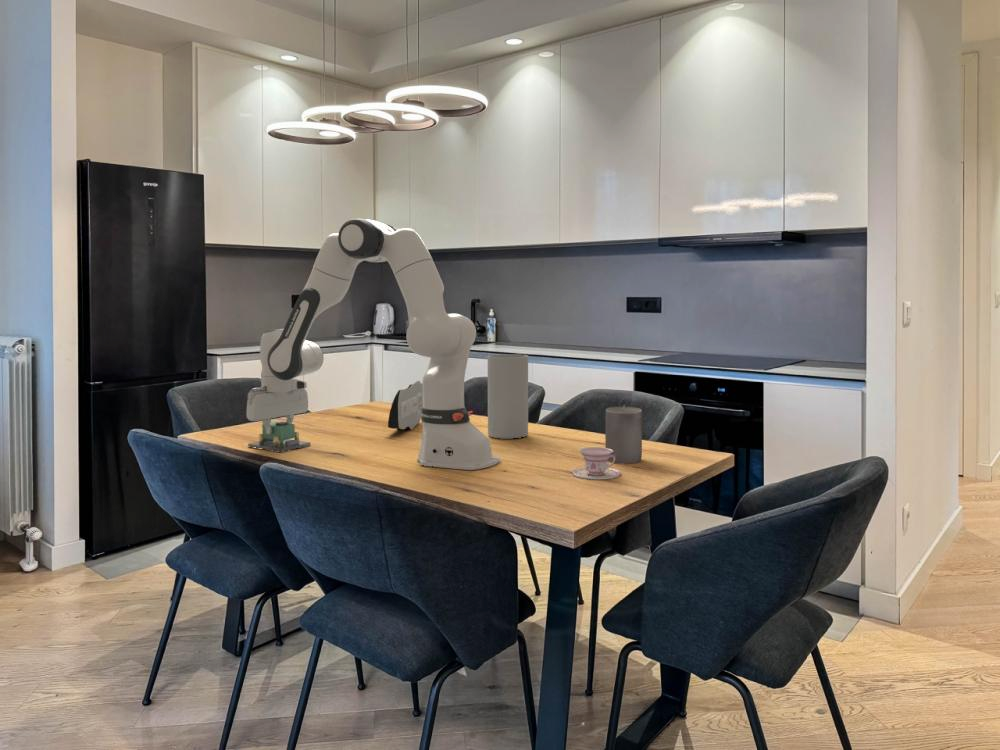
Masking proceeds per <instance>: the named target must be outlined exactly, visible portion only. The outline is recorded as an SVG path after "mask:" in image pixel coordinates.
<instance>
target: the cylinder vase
mask: <svg viewBox="0 0 1000 750" xmlns="http://www.w3.org/2000/svg"><path fill="white" fill-rule="evenodd" d="M487 434H488V436H489V437H490V438H492V437H493V439H497V438H500V439H499V440H514V439H513V438H519V439H522V438H521V437H524V438H526V437H527V436H528V434H529V355H527V354H515V353H514V354H513V353H510V354H509V353H504V354H503V353H501V354H500V353H499V354H489V355H487ZM525 436H526V437H525Z"/></svg>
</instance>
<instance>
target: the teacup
mask: <svg viewBox="0 0 1000 750" xmlns="http://www.w3.org/2000/svg"><path fill="white" fill-rule="evenodd" d="M578 452H580V454H581V455H582V456H583V458H582V459H584V463H585V464H584V467H579V468H578V467H577V468H575V469H573V470H572V472H571V474H572V476H574V477H577V478H581V479H586V480H599V481H600V480H611V479H616V478H619V477H621V475H622V472H621V471H620V470H618V469H615V468H613V467H612V466H614V464H615V463H614V462H615V459H616V455H615V454H614V455H611V454H612V452H613V450H612V449H608V448H605V447H600V446H599V447H597V446H587V447H581V448H579V449H578ZM609 457H613V458H614V460H613V462H611V464H609V465H608V459H609ZM611 467H612V468H611ZM582 470H586V471H584V472H586V473H585V474H584V472H583V471H582ZM606 470H608V471H607V472H606ZM579 471H580V472H579ZM587 471H588V472H589V473H588V472H587ZM609 471H612V473H611V474H610V472H609ZM581 472H583V473H581ZM608 472H609V473H608ZM613 472H614V473H613ZM580 473H581V474H580ZM605 473H606V474H605ZM603 474H605V475H603ZM588 475H589V476H588ZM592 475H593V476H592ZM600 475H601V476H600Z"/></svg>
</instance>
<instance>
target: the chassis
mask: <svg viewBox="0 0 1000 750" xmlns="http://www.w3.org/2000/svg"><path fill="white" fill-rule="evenodd" d="M299 435H300V433H299V431H295V438H294V439H287V440H283V441H280V440H279V439H278V436H274V439H267V438H263V433H259V434H258V441H254V442H251V443H248V444H247V447H248V446H251V447H256V448H262V449H268V450H273V451H272V452H274V451H279V452H278V453H280V452H282V453H284V452H283V451H286V452H289V451H288V450H291V451H293V450H292V449H295V450H297V449H296V448H299V449H301V448H300V447H303V448H306V447H305V446H308V447H310V446H311V442H308V441H303V440H300V436H299ZM309 445H310V446H309ZM256 448H255V449H256ZM262 449H261V450H262ZM268 450H267V451H268Z"/></svg>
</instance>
